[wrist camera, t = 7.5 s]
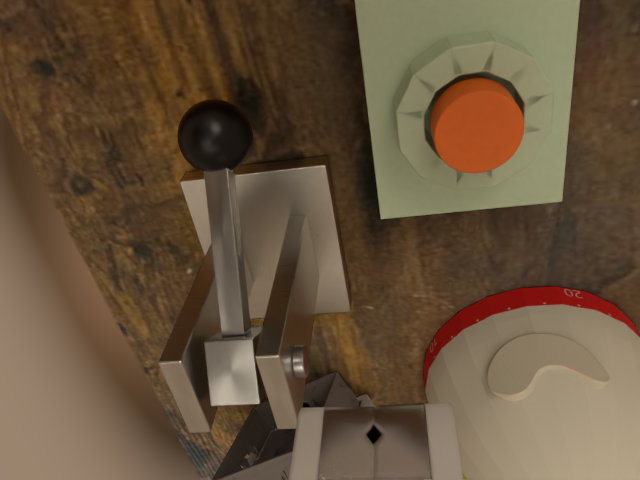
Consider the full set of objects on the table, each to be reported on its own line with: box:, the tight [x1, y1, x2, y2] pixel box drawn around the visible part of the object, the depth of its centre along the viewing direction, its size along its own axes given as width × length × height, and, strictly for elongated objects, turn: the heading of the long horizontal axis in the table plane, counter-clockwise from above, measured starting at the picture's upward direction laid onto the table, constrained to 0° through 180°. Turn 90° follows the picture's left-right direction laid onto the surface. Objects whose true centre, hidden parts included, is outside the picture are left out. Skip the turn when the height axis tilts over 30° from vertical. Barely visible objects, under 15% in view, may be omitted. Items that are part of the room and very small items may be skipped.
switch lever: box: [178, 99, 267, 406], centre depth 24 cm, size 13×3×3 cm
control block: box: [354, 0, 580, 219], centre depth 25 cm, size 11×9×4 cm
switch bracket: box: [159, 156, 352, 433], centre depth 27 cm, size 10×8×12 cm
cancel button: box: [430, 78, 524, 173], centre depth 23 cm, size 4×4×2 cm
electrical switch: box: [212, 371, 374, 480], centre depth 36 cm, size 9×5×9 cm, turn 125°
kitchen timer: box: [423, 286, 640, 480], centre depth 30 cm, size 14×14×15 cm
